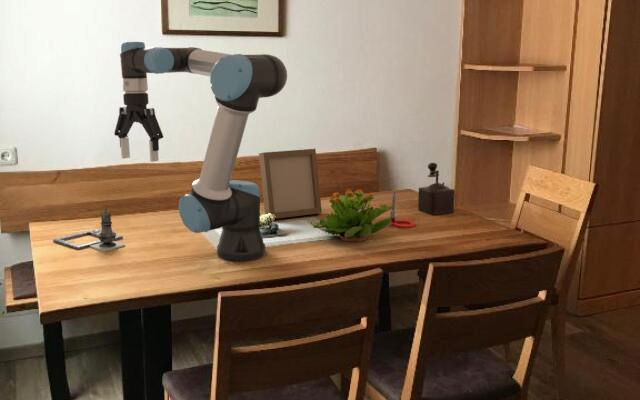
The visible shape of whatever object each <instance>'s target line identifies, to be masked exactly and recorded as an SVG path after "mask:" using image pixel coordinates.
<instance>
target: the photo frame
mask: <svg viewBox="0 0 640 400" xmlns="http://www.w3.org/2000/svg"><path fill="white" fill-rule="evenodd" d="M316 153H317V152H316V148H308V149H305V148H304V149H291V150H282V151H281V150H279V151H267V152H260V153H258V160H259V169H260V179H261V189H262V198H263V207H264V215H265V214H268V213H271V214H274V215H275V216H276V220H277V219H282V218H283V219H285V218H292V217H293V218H294V217H299V216H306V215H316V214H323V210H322V203H321V202H322V201H321V199H322V198H321V189H320V180H319V171H318V160H317V154H316Z"/></svg>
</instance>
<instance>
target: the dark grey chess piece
mask: <svg viewBox="0 0 640 400" xmlns="http://www.w3.org/2000/svg"><path fill="white" fill-rule="evenodd" d="M111 217H112V216H111V213H110V212H109V211H107V208H105V209H104V211H103V212H101V214H100V219H101V222H100V223H99V224H100V225H101V230H102V231H101V233H99V234H98V235H97V236H98V237H97V238H98V241H99V240H100V241H101V242H103V243H101V244H100V245H99V246H100V247H103V248H108V247H113V246H116V243H114V242H113V241H116V240H115V237H116V234H117V233H116V232H114V231H113V228H112V224H113V222H112V218H111Z"/></svg>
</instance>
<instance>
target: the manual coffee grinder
mask: <svg viewBox="0 0 640 400" xmlns="http://www.w3.org/2000/svg"><path fill="white" fill-rule="evenodd" d="M437 168H438V164H437V163H435V162H430V163H428V165H427V169H428V170H429V174H428V175H427V177H428V178H435V182H434V183H432V184H430V185H428V186H422V187H418V198H417V199H418V201H417V203H418V204H417V206H418V208H417V209H418V211H420V212H422V213H423V214H424V213H425V214H428V215H430V216H442V215H443V216H444V215H448V214H454V213H455V211H454V209H455V193H456V192H455V191H456V190H455V189H452V188H450V187H449V186H448V185H445V182H442V183H440V182H439V176H440V172H439V169H437Z"/></svg>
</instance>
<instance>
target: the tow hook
mask: <svg viewBox="0 0 640 400" xmlns="http://www.w3.org/2000/svg"><path fill="white" fill-rule="evenodd" d="M396 193H397V191H396V189H393V193H392V194H393V195H392V199H391V206H393V207H392V209H390V214H389V215H390V216H389V218H391V219H392V220H391V222H390V223H389V224H388V225H387V226H389V227H391V226H392V227H396V228H400V229H411V228H414V227H415V226H416V223H415V222H413V221H411V220H407V219H396V199H397V198H396V197H397V196H396ZM399 223H400V224H399ZM401 223H402V224H401ZM403 223H405V224H403Z"/></svg>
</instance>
